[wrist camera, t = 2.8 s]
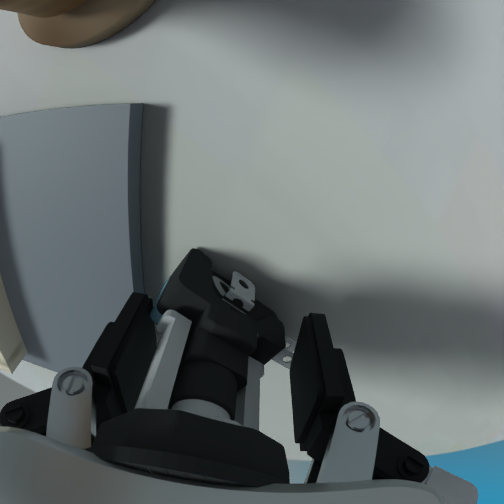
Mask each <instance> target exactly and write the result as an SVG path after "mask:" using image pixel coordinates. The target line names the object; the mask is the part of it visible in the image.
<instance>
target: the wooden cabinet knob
mask: <svg viewBox="0 0 504 504" xmlns="http://www.w3.org/2000/svg"><path fill="white" fill-rule="evenodd" d="M155 1H156V0H0V9H2V10H7V11H12V12H17V13H18V17H19V22H20V25H21V27H22V29H23V31H24V32H25V34H26V35H27V36H28V37H29V38H31V39H32V40H34V41H35V42H37V43H40V44H43V45H49V46H55V47H60V48H80V47H85V46H89V45H92V44H95V43H98V42H101V41H103V40H105V39H107V38H109V37H111V36H113V35H115V34H116V33H118V32H120V31H121V30H123V29H124V28H126V27H127V26H129V25H130V24H132V23H133V22H134V21H135V20H136V19H138V18H139V17H140V16H141V15H142V14H143V13H144V12H145V11H146V10H147V9H149V8H150V7H151V5H152V4H153V3H154V2H155Z"/></svg>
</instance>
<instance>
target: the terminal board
mask: <svg viewBox="0 0 504 504" xmlns="http://www.w3.org/2000/svg"><path fill="white" fill-rule="evenodd" d="M142 115H143V103H136V104H106V105H90V106H78V107H67V108H58V109H49V110H42V111H34V112H28V113H22V114H16V115H10V116H4V117H0V369H2V370H4V371H7V372H9V373H11V374H12V373H13V372H14V370H15V369H16V367H17V366H18V365H19V363H20V362H21V360H25V361H28V362H30V363H33V364H35V365H38V366H41V367H44V368H47V369H49V370H52V371H55V372H60V371H61V370H63V369H65V368H68V367H80V368H82V367H83V365H84V363H85V361H86V360H87V358H88V356H89V354H90V353H91V351H92V349H93V347H94V346H95V344H96V342H97V340H98V339H99V337H100V335H101V334H102V332H103V330H104V329H105V327H106V325H107V324H108V323H109V322H115V320H116V319H117V317H118V315H119V314H120V312H121V310H122V308H123V307H124V305H125V304H126V302H127V300H128V299H129V297H130V295H131V294H132V293H133V292H137V293H143V294H144V285H143V271H142V253H141V228H140V156H141V132H142Z"/></svg>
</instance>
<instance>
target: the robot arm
mask: <svg viewBox="0 0 504 504" xmlns="http://www.w3.org/2000/svg"><path fill="white" fill-rule="evenodd" d="M152 309H153V302H152V299H151V298H148V295H147V294H143V293H137V292H133V293H132V294H131V295H130V297H129V299H128V300H127V302H126V304H125V305H124V307H123V308H122V310H121V312H120V314H119V315H118V317H117V319H116V320H115V322H109V323H108V324H107V325H106V327H105V329H104V330H103V332H102V334H101V335H100V337H99V339H98V340H97V342H96V344H95V346H94V347H93V349H92V351H91V353H90V354H89V356H88V358H87V360H86V361H85V363H84V365H83V367H82V368H80V367H68V368H65V369H63V370H61V371H60V372H58V374H57V375H56V376H55V378H54V380H53V385H52V388H49V389H46V390H43V391H40V392H37V393H35V394H32V395H29V396H26V397H23V398H20V399H17V400H14V401H11V402H9V403H7V404H6V405H5V406H4V407H3V409H2V410H1V412H0V504H476V503H477V499H478V491H477V489H476V487H475V486H474V485H473V484H471V483H470V482H468V481H466V480H464V479H462V478H459V477H457V476H455V475H453V474H451V473H449V472H447V471H445V470H443V469H441V468H439V467H437V466H434V467H433V468H432V467H430V466H429V463H428V460H427V459H426V457H425V456H424V455H423V454H422V453H420V452H419V451H417V450H415V449H414V448H412V447H410V446H409V445H407V444H406V443H404V442H402V441H401V440H399V439H397V438H396V437H394V436H393V435H391V434H389V433H388V432H386V431H385V430H383V429H382V428H380V417H379V415H378V413H377V412H376V410H375V409H374V408H373V407H371V406H370V405H368V404H366V403H363V402H356V399H355V395H354V391H353V388H352V384H351V380H350V376H349V372H348V369H347V365H346V361H345V358H344V354H343V351H342V350H341V349H337V348H333V344H332V340H331V336H330V332H329V328H328V325H327V321H326V317H325V315H324V314H316V313H310V314H309V316H308V317H306V316H304V318H303V321H302V325H301V328H300V332H299V336H298V340H297V343H296V347H295V351H294V354H293V358H292V362H291V365H290V383H291V396H292V409H293V423H294V438H295V443H300V451H307V454H308V455H309V456H310V457H312V461H311V464H310V468H309V470H308V474H307V477H306V479H305V482H304V484H271V485H266V486H262V487H239V486H230V485H219V484H211V483H204V482H203V483H201V482H196V481H190V480H184V479H178V478H173V477H167V476H162V475H158V474H151V473H149V472H144V471H140V470H134V469H132V468H128V467H125V466H121V465H116V464H114V463H110V462H107V461H104V460H101V459H100V458H99V457H97V456H96V455H95V454H94V453H92V452H89V451H86V450H84V449H86V448H89V447H91V446H92V444H93V441H94V439H95V436H96V434H97V431H98V428H99V426H100V424H101V423H103V422H106V421H108V420H110V419H113V418H115V417H117V416H120V415H122V414H124V413H127V412H129V411H131V410H133V409H135V406H136V403H137V400H138V398H139V395H140V392H141V389H142V386H143V384H144V381H145V378H146V376H147V373H148V370H149V367H150V365H151V362H152V359H153V357H154V354H155V351H156V349H157V345H156V336H155V325H154V321H153V320H152V318H151V316H150V314H151V311H152Z"/></svg>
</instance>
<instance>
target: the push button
mask: <svg viewBox="0 0 504 504" xmlns="http://www.w3.org/2000/svg"><path fill="white" fill-rule="evenodd" d="M239 280H240V281H242V282H244V283H245V284H246V285H247V287H248V289H245V288H244V287H242V286H241V285H240V283H239ZM150 316H151V318H152V320H153V321H154V322H155V323H156V324H158V325H157V331H158V332H159V333H161V334H162V336H161V338H160V341H159V344H158V346H157V349H156V351H155V354H154V357H153V359H152V362H151V365H150V367H149V370H148V373H147V376H146V378H145V381H144V384H143V386H142V389H141V392H140V395H139V398H138V400H137V403H136V406H135V409H133V410H131V411H129V412H127V413H124V414H122V415H120V416H117V417H115V418H113V419H110V420H108V421H106V422H103V423H101V424H100V426H99V428H98V431H97V434H96V436H95V439H94V441H93V444H92V446H91V447H89V448H86V449H84V450H86V451H89V452H92V453H94V454H95V455H96V456H97V457H99V458H100V459H101V460H104V461H107V462H110V463H114V464H116V465H121V466H125V467H128V468H132V469H134V470H140V471H144V472H149V473H151V474H158V475H162V476H167V477H173V478H178V479H184V480H190V481H196V482H201V483H203V482H204V483H211V484H219V485H230V486H239V487H262V486H266V485H271V484H290V483H289V469H288V464H287V459H286V454H285V449H284V447H283V446H282V445H281V444H280V443H278V442H276V441H275V440H273V439H271V438H270V437H268V436H266V435H265V434H263V433H261V432H260V431H259V398H260V378H261V377H262V376H263V375H264V365H265V364H266V363H267V362H268V361H270V360H271V359H272V360H274V361H276V362H277V363H279V364H281V365H283V366H284V367H286V368H288V369H289V368H290V365H291V362H292V360H291V361H289V362H285V361H283V360H282V359H283V358H284V357H286V356H289V357H291V358H293V354H294V353H292V352H293V351H294V350H295V347H296V343H297V342H295V341H294V340H292V339H291V338H289V337H288V336H286V335H285V331H284V326H283V324H282V322H281V321H280V320H278V319H277V316H276V314H275V313H274V312H273V311H272V310H270V309H269V308H267V307H266V306H264V305H263V304H261V303H260V302H258V301H257V300H255V286H254V284H253V283H252V282H251V281H250V280H248V279H247V278H245V277H244V276H242V275H241V274H240V273H238V272H234V271H233V273H232V277H231V283H230V282H229V281H228V280H226V279H225V278H223V277H222V276H220V275H219V274H217V273H216V272H215V271H213V270H212V262H211V260H210V259H209V257H207V256H206V255H205V254H203V253H202V252H200V251H199V250H197V249H194V248H193V249H191V250H190V251H189V253H188V254H187V255H186V257H185V258H184V259H183V260H182V262H181V263H180V264H179V266H178V267H177V268H176V270H175V271H174V272H173V274H172V275H171V276H170V278H169V279H168V280H167V282H166V283H165V284H164V286H163V288H162V290H161V292H160V294H159V296H158V298H157V300H156V303H155V305H154V307H153V309H152V311H151V314H150ZM285 342H288V343H290V344H291V345H290V346H289V347H287V348H285V347H286V343H285ZM167 408H168V409H167Z"/></svg>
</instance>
